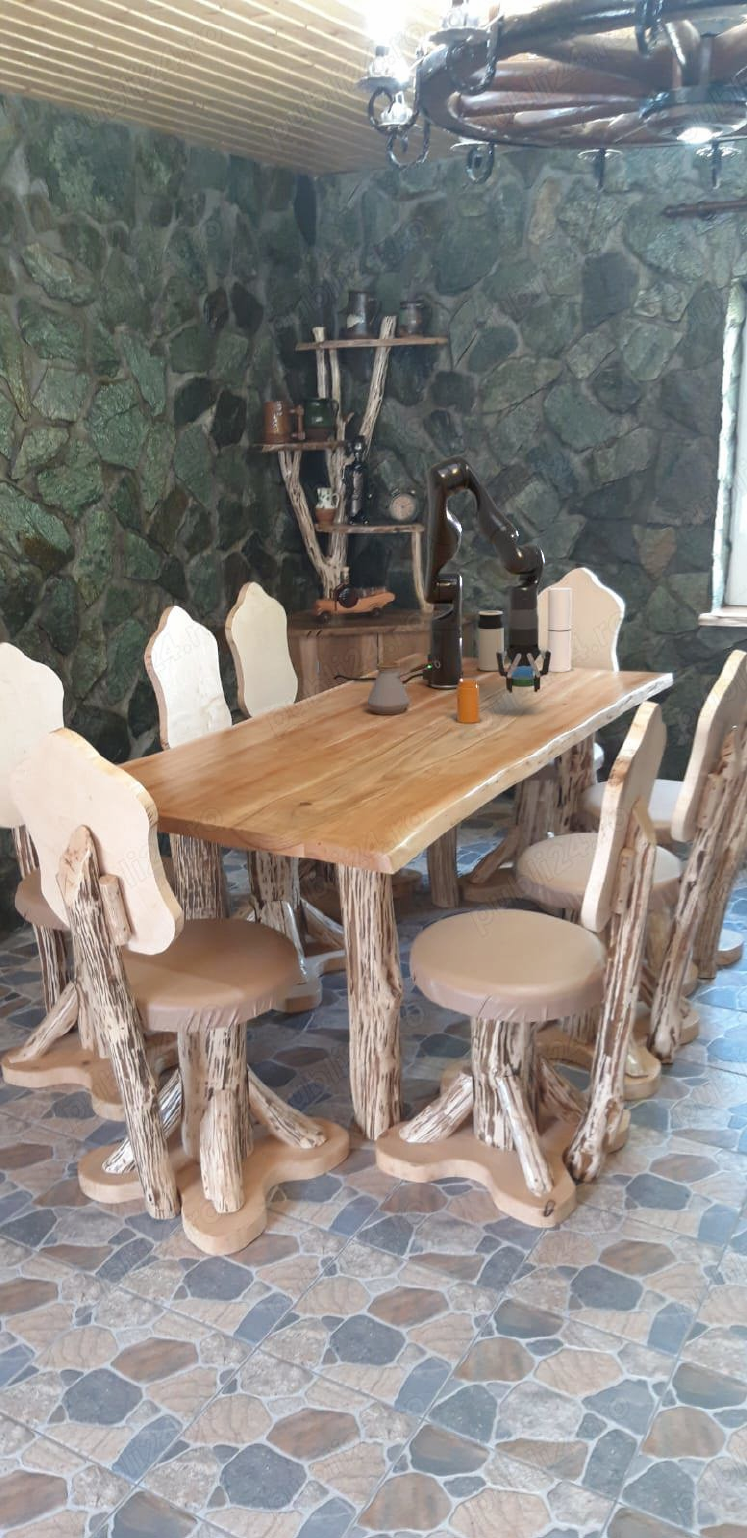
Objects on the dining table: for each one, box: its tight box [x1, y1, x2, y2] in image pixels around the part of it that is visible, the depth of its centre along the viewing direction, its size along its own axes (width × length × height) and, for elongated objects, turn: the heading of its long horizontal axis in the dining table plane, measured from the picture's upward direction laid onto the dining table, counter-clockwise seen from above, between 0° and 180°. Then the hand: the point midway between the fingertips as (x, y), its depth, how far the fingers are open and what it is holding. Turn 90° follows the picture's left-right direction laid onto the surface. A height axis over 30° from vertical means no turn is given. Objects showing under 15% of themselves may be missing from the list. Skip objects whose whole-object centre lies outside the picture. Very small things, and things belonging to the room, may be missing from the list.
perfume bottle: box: [509, 658, 534, 677], centre depth 353 cm, size 6×6×12 cm
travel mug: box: [477, 610, 505, 672], centre depth 368 cm, size 8×8×18 cm
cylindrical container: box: [547, 587, 573, 673], centre depth 363 cm, size 7×7×25 cm
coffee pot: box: [367, 660, 440, 716], centre depth 310 cm, size 21×12×15 cm, turn 57°
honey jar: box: [456, 677, 480, 724], centre depth 300 cm, size 6×6×11 cm
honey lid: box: [512, 676, 535, 688], centre depth 299 cm, size 6×6×2 cm
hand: (523, 691), depth 300 cm, fingers closed on honey lid, 5 cm apart
